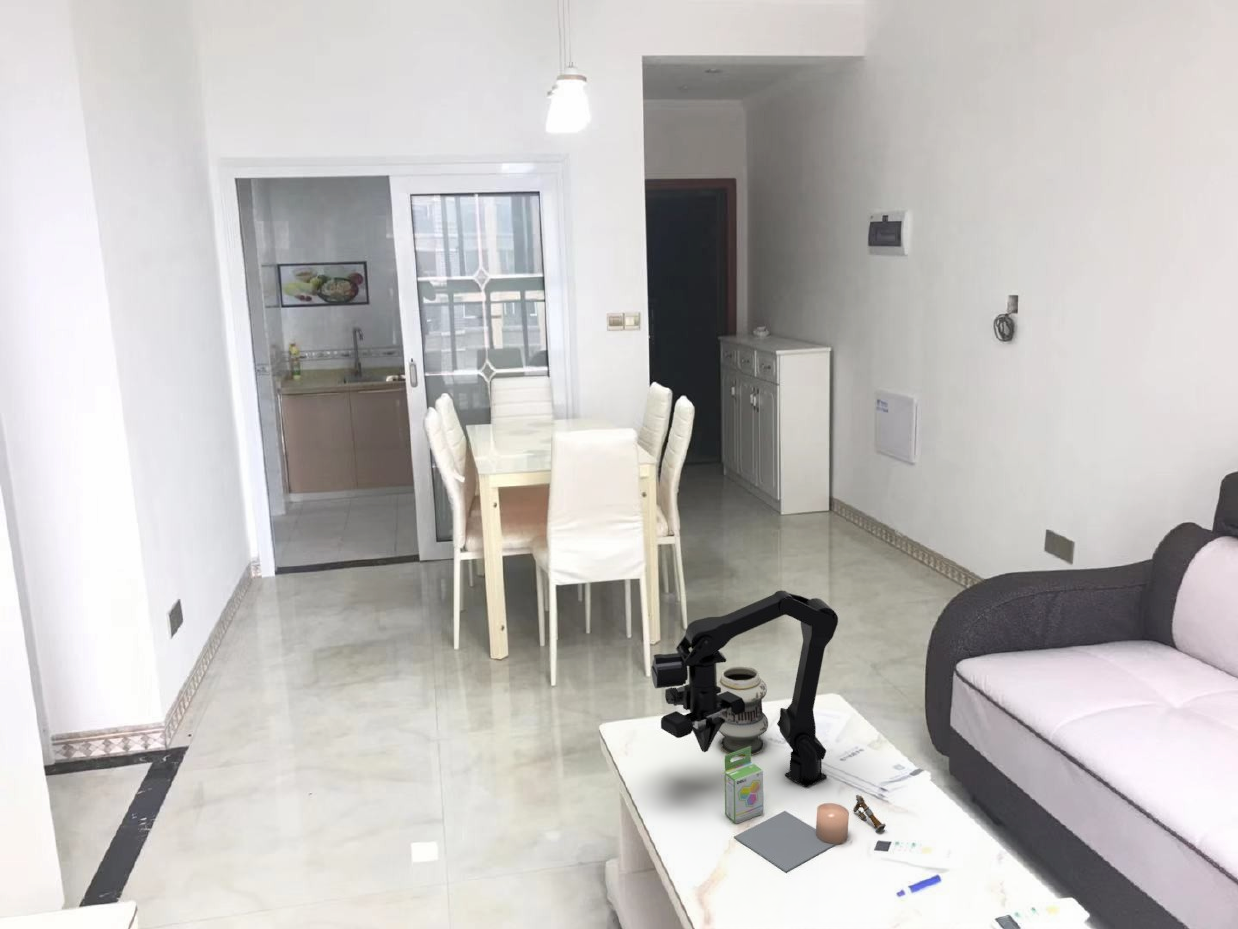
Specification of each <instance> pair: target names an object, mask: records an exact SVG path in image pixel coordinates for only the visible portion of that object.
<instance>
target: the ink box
mask: <svg viewBox="0 0 1238 929" xmlns="http://www.w3.org/2000/svg"><path fill="white" fill-rule="evenodd" d="M741 754H745V756H743V757H742V758H739V759H736V760H733V761H731V760H732V759H733V758H735V757H738V756H737V755H741ZM764 807H765V806H764V771H763V769H762V768H761V767H759V766H757V765H756V764H755V763H754V762H752V755H751V746H750V747H747V748H744V749H741V750H738V751H736V752H733V753H730V754H729V753H727V754H725V755H724V815H725V816H726V817H727V818H729V820H731V822H733V823H734V824H736V825H737V824H741V823H743V822H745V821H747V820H750V819H753V818H755V817H757V816H760V815H763V814H764V812H765V811H764Z"/></svg>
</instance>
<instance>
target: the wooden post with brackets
mask: <svg viewBox="0 0 1238 929" xmlns="http://www.w3.org/2000/svg"><path fill="white" fill-rule="evenodd" d="M855 798H856V799H855V800H856V804H855V806H853V810H852V812H853V813H858V816H857V817H858V818H860V819H861V820H862V821H863V822H866V821H867V820H868V819H869V820H870V821H871V822H872V824H873V826H874V828H875V833H878V832H881V831H884V830H885V828H886V826H887V824H886V823H882V822H881V821H880V820H879V819H878V818H877V817H876V816H875V814H874V812H873V811H872V809H871V808H870V806H868V805H867V804H866V801H865V798H864V797H863V796H862V795H859V794H856V795H855ZM860 808H862V809H863V811H861V810H860ZM867 818H868V819H867Z"/></svg>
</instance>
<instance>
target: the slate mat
mask: <svg viewBox="0 0 1238 929" xmlns="http://www.w3.org/2000/svg"><path fill="white" fill-rule="evenodd" d="M733 839H734V840H736V841H737V842H740V843H741V844H742V845H744V846H745V847H746V848H748V849H750V850H751V851H753V852H754V853H756V854H757V855H758V856H760V857H762V858H763V859H765V860H766V861H768V862H770V863H771V864H772V865H774V866H776V867H777V868H779V869H780V870H781V871H783V872H784V873H785V874H787V873H789V872H790V871H792V870H793V869H796V868H797V867H799V866H801V865H802V864H805V863H806V862H808V861H810V860H812V859H814V858H815V857H817V856H819V855H821V854H823V853H824V852H826V851H828V850H830V849H831V848H834V847H835V846H836V845H838V844H833V843H827V842H824V841H822V840H820V839H819V838H818V837H817V836H816V827H813V826H812V825H810V824H808V823H806V822H805V821H803V820H802V819H800V818H798V817H797V816H795V815H793V814H791V813H789V812H788V811H786V810H783V811H782V812H780V813H778V814H775V815H774V816H771V817H770V818H767V819H766V820H764V821H762V822H760V823H757V824H756V825H754V826H752V827H750V828H748V829H746V830H744V831H742V832H740V833H738V834H736V835H734V836H733Z"/></svg>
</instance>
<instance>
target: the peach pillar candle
mask: <svg viewBox="0 0 1238 929" xmlns="http://www.w3.org/2000/svg"><path fill="white" fill-rule="evenodd" d="M849 819H850V812H849V810H848V809H847V808H846V807H845V806H843V805H841V804H839V803H832V802H826V803H822V804H819V805H818V806H817V808H816V820H815V824H816V826H815V829H816V836H817V837H818V838H819V839H820V840H822V841H824V842H827V843H833V844H837V845H838V844H841V843H842V844H843V843H845V842H846V841H847V840H848V835H849Z"/></svg>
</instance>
